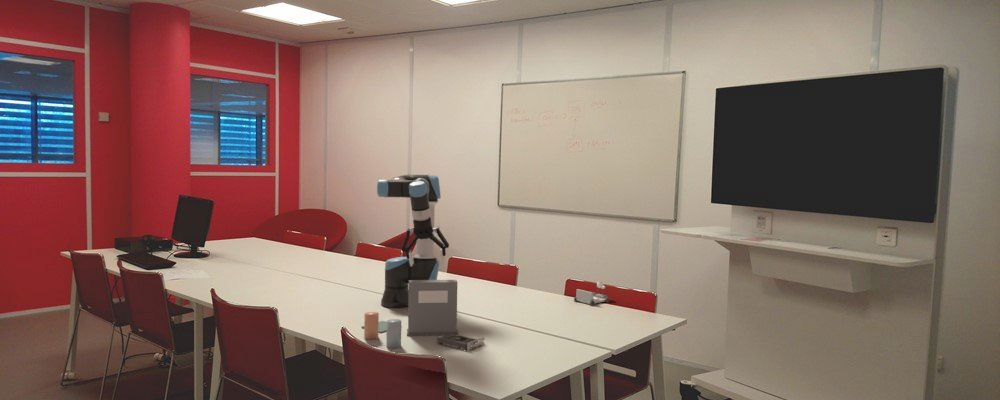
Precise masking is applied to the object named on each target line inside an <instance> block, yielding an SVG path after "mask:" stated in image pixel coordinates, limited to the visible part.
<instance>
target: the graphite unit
mask: <svg viewBox="0 0 1000 400" xmlns="http://www.w3.org/2000/svg"><path fill="white" fill-rule="evenodd" d="M408 289H409V301H408V306H407V307H408V310H407V311H408V314H407V316H408V317H407V319H408V321H407V322H408V323H407V328H406V336H407V337H413V336H414V337H415V336H416V337H417V336H420V337H421V336H445V335H448V334H453V335H458V336H459V331H458V328H457V327H458V324H457V323H458V319H457V318H458V315H457V314H458V281H457V279H437V280H409V284H408Z"/></svg>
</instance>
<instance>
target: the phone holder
mask: <svg viewBox="0 0 1000 400" xmlns="http://www.w3.org/2000/svg"><path fill="white" fill-rule="evenodd" d="M596 288H597V292H600V291H599V289H602V292H604V289H606V286H605V285H604V284H603V281H597V282H596ZM597 292H595V291H593V292H592V291H587V290H583V289H578V288H576V293H575V295H576V296H574V298H573V301H574V302H575V303H577V302H581V303H584V304H588V305H589V306H590V307H592V306H595V304H598V303H604V302H605V303H610V302H611V301H610V300H611V299H610V297H609V296H608V295H606V294H603V293H602V294H600V293H597Z"/></svg>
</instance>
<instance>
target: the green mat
mask: <svg viewBox="0 0 1000 400" xmlns="http://www.w3.org/2000/svg"><path fill="white" fill-rule="evenodd" d="M402 327H403V326H402V325H401V328H402ZM361 329H364V325H362V326H361ZM385 332H386V333H387V321H386V320H379V327H378V334H383V333H385Z"/></svg>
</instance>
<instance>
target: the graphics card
mask: <svg viewBox="0 0 1000 400" xmlns="http://www.w3.org/2000/svg"><path fill="white" fill-rule="evenodd" d="M436 341H437V342H439V343H440V344H442V346H446V345H447V346H448V347H451V346H452V348H455V347H456V348H457V349H461V350H460V351H462V350H467V351H466V352H468V351H471V350H476V349H477V348H480V347H482V346H483V345H485V337H483V336H482V337H479V338H473V337H469V336H468V337H467V336H464V335H459V334H458V335H453V334H448V335H441V336H440V337H436ZM482 344H483V345H482ZM475 348H476V349H475ZM470 349H471V350H470Z"/></svg>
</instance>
